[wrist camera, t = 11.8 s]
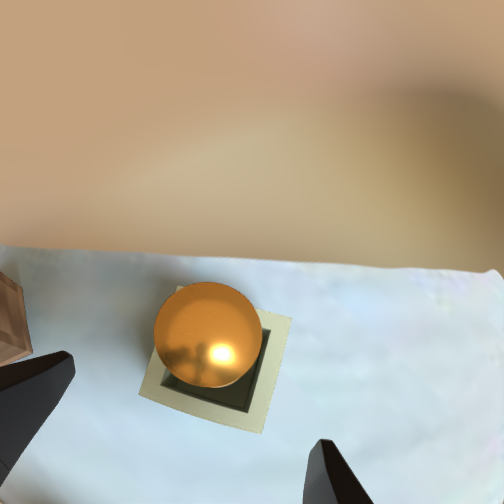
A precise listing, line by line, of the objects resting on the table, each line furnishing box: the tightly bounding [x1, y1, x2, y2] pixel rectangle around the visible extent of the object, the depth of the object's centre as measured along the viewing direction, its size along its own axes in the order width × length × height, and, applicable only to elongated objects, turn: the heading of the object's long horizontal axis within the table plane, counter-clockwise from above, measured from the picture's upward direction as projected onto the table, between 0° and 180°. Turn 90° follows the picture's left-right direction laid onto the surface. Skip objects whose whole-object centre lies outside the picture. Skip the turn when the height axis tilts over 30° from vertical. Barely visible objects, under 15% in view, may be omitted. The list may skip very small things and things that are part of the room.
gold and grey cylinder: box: [154, 282, 262, 388], centre depth 13 cm, size 3×3×12 cm
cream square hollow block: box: [139, 285, 292, 434], centre depth 17 cm, size 7×7×6 cm
